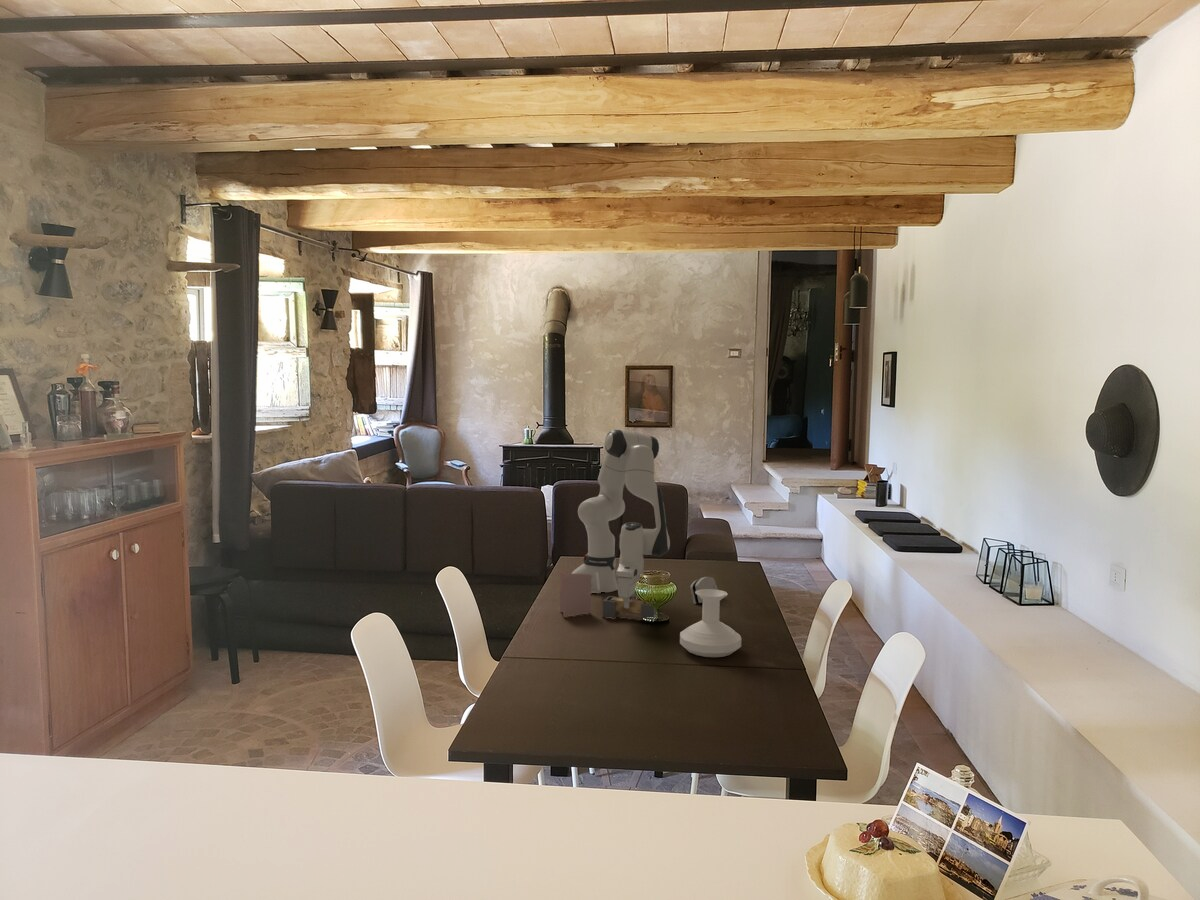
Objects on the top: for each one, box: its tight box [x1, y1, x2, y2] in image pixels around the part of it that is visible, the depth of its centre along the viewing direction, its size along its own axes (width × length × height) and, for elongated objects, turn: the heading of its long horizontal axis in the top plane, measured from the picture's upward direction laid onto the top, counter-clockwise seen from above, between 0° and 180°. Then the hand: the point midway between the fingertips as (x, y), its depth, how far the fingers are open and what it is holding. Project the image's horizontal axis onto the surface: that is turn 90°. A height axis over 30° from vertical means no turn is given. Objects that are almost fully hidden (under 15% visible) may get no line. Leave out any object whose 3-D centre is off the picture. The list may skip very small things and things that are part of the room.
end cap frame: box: [602, 595, 656, 620], centre depth 301 cm, size 19×7×6 cm, turn 71°
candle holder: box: [679, 589, 742, 658], centre depth 265 cm, size 20×20×19 cm
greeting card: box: [559, 572, 592, 617], centre depth 303 cm, size 11×7×15 cm, turn 84°
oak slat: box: [610, 596, 648, 615], centre depth 301 cm, size 15×4×4 cm, turn 67°
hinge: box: [689, 576, 719, 605], centre depth 328 cm, size 17×5×10 cm, turn 147°
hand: (630, 604), depth 301 cm, fingers open, 8 cm apart
